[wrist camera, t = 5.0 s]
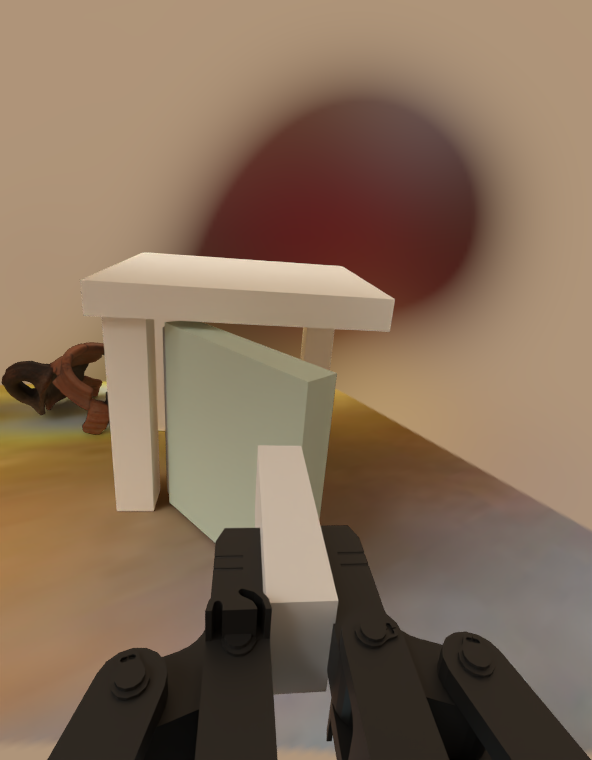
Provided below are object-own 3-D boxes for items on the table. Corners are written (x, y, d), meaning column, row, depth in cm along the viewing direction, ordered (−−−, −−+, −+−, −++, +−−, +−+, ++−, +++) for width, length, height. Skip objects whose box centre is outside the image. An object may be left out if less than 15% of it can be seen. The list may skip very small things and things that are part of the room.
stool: (102, 518, 30) (80, 279, 24) (150, 415, 45) (143, 252, 39) (360, 517, 32) (394, 299, 27) (324, 420, 47) (342, 266, 41)
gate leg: (162, 495, 32) (156, 318, 28) (185, 485, 34) (183, 315, 29) (286, 606, 24) (308, 382, 20) (311, 587, 26) (336, 373, 21)
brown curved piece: (122, 392, 51) (145, 340, 47) (132, 461, 45) (159, 410, 41) (-3, 380, 44) (10, 318, 39) (-9, 460, 38) (5, 398, 34)
